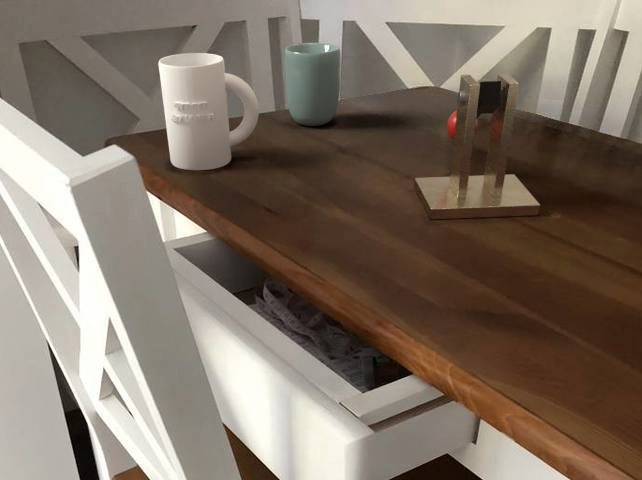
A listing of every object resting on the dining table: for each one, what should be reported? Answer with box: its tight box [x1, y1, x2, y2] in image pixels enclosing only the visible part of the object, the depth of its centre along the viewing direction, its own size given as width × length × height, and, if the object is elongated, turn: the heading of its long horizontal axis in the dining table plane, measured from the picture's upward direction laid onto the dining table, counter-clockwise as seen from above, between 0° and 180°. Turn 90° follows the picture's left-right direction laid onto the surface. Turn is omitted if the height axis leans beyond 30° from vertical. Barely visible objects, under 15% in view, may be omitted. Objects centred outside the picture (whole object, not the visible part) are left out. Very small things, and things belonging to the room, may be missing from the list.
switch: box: [446, 80, 501, 141], centre depth 82 cm, size 13×4×4 cm, turn 4°
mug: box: [157, 52, 260, 171], centre depth 93 cm, size 8×12×12 cm
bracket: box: [413, 73, 541, 220], centre depth 80 cm, size 10×12×13 cm
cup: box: [284, 42, 342, 127], centre depth 107 cm, size 8×8×10 cm
